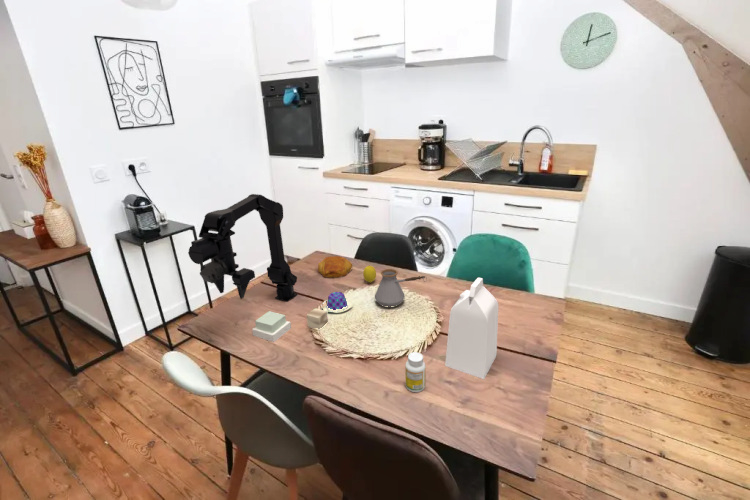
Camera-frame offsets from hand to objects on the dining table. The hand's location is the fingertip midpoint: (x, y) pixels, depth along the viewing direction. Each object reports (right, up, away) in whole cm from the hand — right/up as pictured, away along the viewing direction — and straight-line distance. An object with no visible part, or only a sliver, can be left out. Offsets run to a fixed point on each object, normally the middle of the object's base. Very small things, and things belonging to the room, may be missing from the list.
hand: (231, 295), depth 126 cm
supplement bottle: (+58, -22, -22) cm, 66 cm away
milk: (+76, -18, -13) cm, 79 cm away
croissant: (+29, +4, +49) cm, 57 cm away
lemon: (+45, +1, +38) cm, 59 cm away
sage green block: (+12, -11, +4) cm, 17 cm away
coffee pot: (+57, -6, +19) cm, 60 cm away
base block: (+12, -13, +5) cm, 19 cm away
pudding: (+33, -7, +20) cm, 39 cm away
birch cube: (+27, -11, +8) cm, 31 cm away
